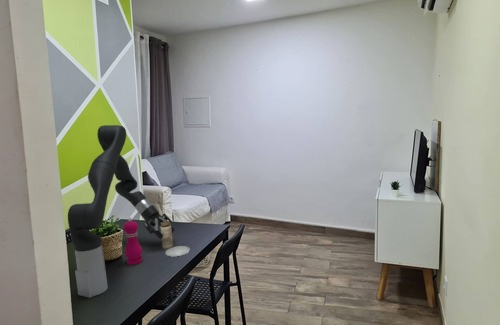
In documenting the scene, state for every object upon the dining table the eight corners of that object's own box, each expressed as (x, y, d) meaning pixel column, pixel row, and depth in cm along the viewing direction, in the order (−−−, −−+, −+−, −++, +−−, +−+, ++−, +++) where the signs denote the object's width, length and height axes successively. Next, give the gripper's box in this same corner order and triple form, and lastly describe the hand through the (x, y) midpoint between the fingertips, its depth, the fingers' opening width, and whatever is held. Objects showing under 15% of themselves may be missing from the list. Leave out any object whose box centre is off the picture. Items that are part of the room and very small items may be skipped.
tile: (180, 258, 156) (180, 256, 155) (160, 255, 160) (160, 253, 160) (194, 248, 165) (194, 247, 165) (175, 246, 170) (175, 245, 170)
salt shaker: (168, 249, 167) (166, 224, 165) (160, 247, 169) (157, 223, 167) (175, 245, 171) (172, 221, 170) (166, 244, 174) (164, 220, 172)
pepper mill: (138, 265, 150) (133, 220, 148) (122, 265, 152) (117, 220, 149) (146, 258, 157) (141, 215, 155) (131, 258, 159) (126, 215, 156)
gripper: (140, 209, 164) (162, 235, 161) (160, 201, 177) (180, 225, 174) (132, 219, 168) (154, 244, 164) (152, 210, 180) (173, 234, 177)
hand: (167, 234), depth 169 cm, fingers open, 8 cm apart
